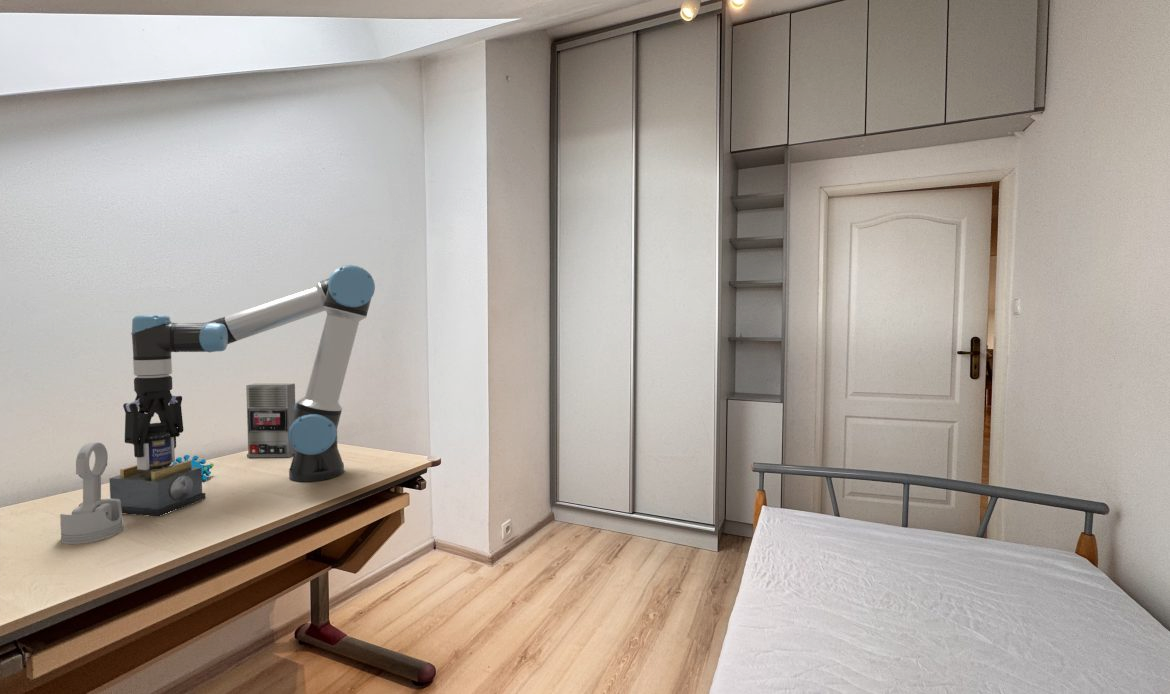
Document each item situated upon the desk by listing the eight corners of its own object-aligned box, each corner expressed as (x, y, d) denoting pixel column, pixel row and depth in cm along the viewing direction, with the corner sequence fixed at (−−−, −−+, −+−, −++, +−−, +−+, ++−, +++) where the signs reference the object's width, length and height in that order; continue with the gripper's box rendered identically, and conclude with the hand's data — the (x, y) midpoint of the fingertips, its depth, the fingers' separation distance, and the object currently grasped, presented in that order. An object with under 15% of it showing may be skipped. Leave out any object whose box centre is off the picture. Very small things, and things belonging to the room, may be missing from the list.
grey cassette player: (246, 458, 179) (244, 385, 177) (256, 453, 185) (254, 383, 183) (288, 458, 180) (287, 385, 178) (297, 453, 186) (295, 383, 184)
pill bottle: (155, 471, 131) (153, 427, 130) (134, 469, 132) (132, 426, 131) (177, 464, 137) (176, 422, 136) (157, 462, 138) (156, 421, 137)
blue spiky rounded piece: (179, 483, 147) (168, 455, 151) (169, 496, 149) (158, 467, 152) (221, 478, 157) (209, 451, 161) (211, 490, 159) (199, 463, 162)
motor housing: (205, 498, 140) (204, 459, 140) (159, 516, 127) (157, 474, 127) (157, 494, 143) (156, 456, 142) (107, 512, 130) (105, 470, 129)
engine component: (49, 546, 111) (107, 541, 114) (44, 451, 110) (102, 448, 112) (82, 526, 121) (134, 522, 124) (77, 439, 120) (130, 437, 123)
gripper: (175, 371, 143) (178, 454, 144) (100, 379, 124) (104, 475, 126) (199, 372, 142) (202, 456, 143) (127, 380, 123) (131, 477, 124)
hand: (156, 465), depth 134 cm, fingers closed on pill bottle, 6 cm apart
